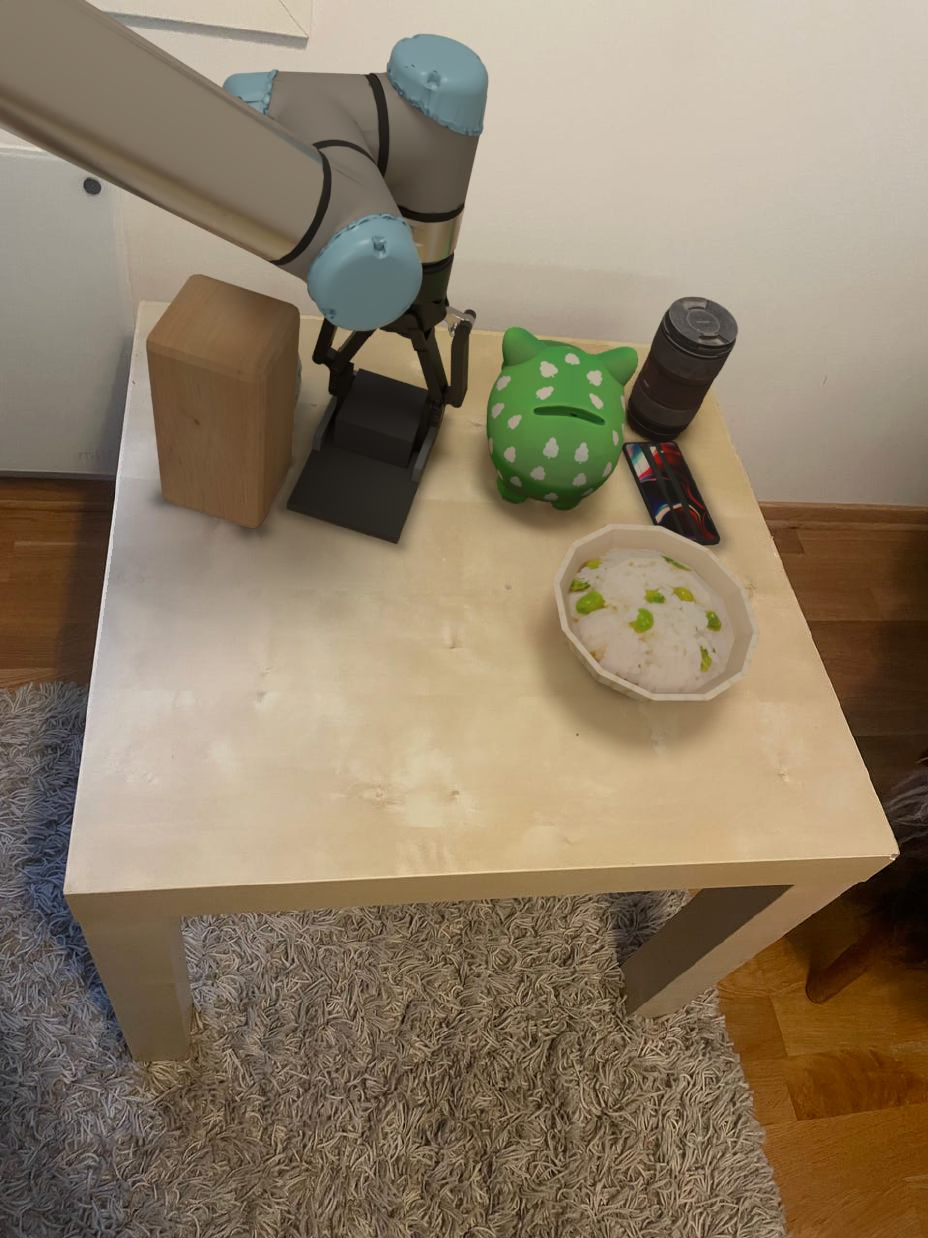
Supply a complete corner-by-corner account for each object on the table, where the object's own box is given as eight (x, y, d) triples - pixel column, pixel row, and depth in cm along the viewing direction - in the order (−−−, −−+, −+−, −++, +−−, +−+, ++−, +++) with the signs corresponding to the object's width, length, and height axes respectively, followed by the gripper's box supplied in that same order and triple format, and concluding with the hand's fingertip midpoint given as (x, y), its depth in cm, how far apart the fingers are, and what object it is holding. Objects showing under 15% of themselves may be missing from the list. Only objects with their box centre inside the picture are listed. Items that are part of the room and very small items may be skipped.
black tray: (396, 544, 92) (401, 525, 89) (286, 509, 91) (287, 489, 89) (442, 419, 102) (447, 399, 100) (343, 387, 102) (346, 366, 100)
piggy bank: (593, 418, 107) (638, 313, 95) (603, 541, 97) (655, 441, 85) (472, 398, 105) (503, 288, 93) (470, 522, 95) (504, 416, 83)
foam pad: (332, 445, 96) (335, 417, 92) (355, 395, 100) (359, 367, 97) (406, 469, 96) (412, 442, 93) (426, 418, 100) (432, 390, 97)
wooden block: (158, 503, 89) (139, 337, 72) (200, 433, 94) (191, 265, 78) (258, 534, 89) (262, 377, 73) (294, 463, 95) (304, 302, 78)
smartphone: (664, 547, 98) (620, 441, 106) (662, 550, 99) (618, 446, 106) (724, 542, 100) (676, 439, 108) (721, 546, 101) (674, 443, 108)
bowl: (496, 596, 90) (521, 533, 82) (662, 561, 97) (701, 500, 89) (577, 773, 82) (614, 721, 73) (753, 721, 88) (805, 668, 80)
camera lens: (609, 400, 110) (655, 295, 97) (668, 395, 112) (720, 292, 100) (636, 451, 106) (687, 348, 93) (696, 444, 108) (754, 343, 96)
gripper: (280, 227, 77) (274, 423, 95) (520, 304, 77) (467, 484, 96) (309, 180, 81) (298, 377, 100) (536, 254, 82) (482, 436, 100)
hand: (381, 429), depth 98 cm, fingers closed on foam pad, 8 cm apart
